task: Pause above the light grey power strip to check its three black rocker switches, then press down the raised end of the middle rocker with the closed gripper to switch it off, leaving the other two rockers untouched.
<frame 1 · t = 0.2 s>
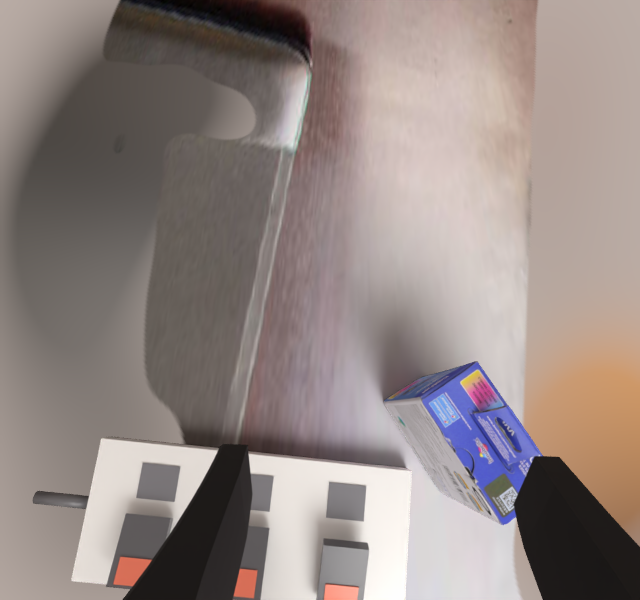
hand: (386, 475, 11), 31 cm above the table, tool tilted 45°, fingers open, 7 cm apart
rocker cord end: (141, 550, 35), point 4 cm above the table, hinge at 15.0°
power strip: (251, 517, 39), on the table
ink cartridge box: (434, 431, 42), on the table
rocker middle: (242, 561, 35), point 4 cm above the table, hinge at 15.0°
rocker far end: (342, 575, 35), point 4 cm above the table, hinge at -15.0°
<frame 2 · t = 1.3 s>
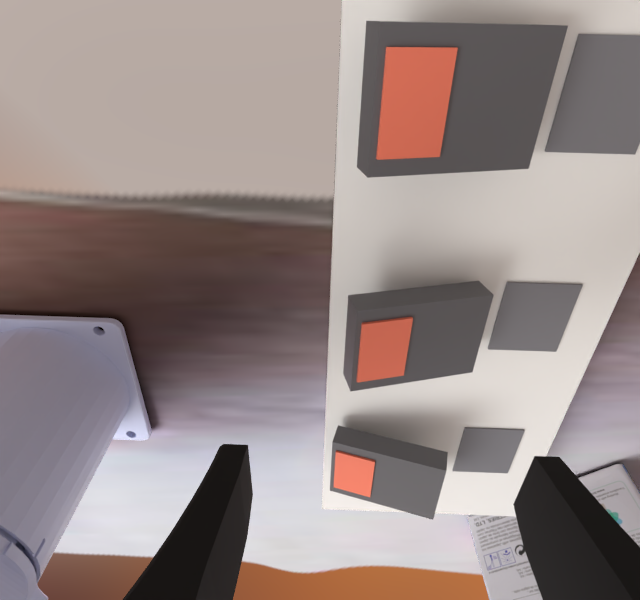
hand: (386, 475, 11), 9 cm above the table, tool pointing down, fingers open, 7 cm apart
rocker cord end: (455, 101, 12), point 4 cm above the table, hinge at 15.0°
power strip: (457, 289, 19), on the table
ink cartridge box: (551, 507, 28), on the table
rocker middle: (415, 337, 16), point 4 cm above the table, hinge at 15.0°
rocker far end: (385, 473, 21), point 4 cm above the table, hinge at -15.0°
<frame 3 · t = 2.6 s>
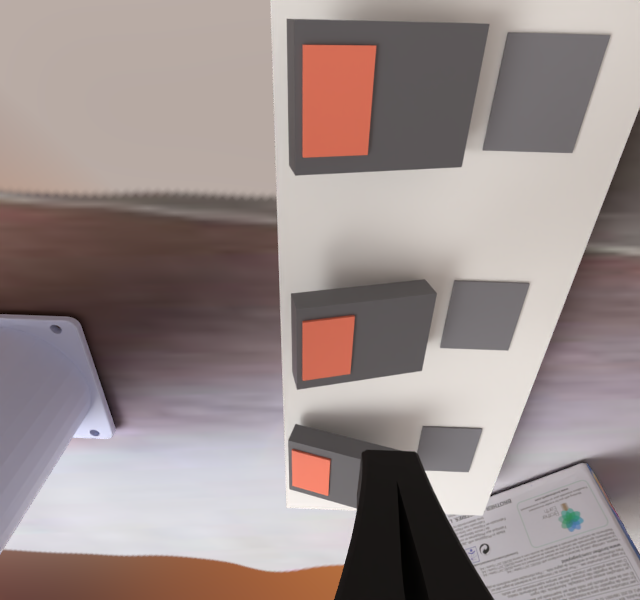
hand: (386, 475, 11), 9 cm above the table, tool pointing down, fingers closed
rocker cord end: (382, 99, 12), point 4 cm above the table, hinge at 15.0°
power strip: (411, 287, 19), on the table
ink cartridge box: (519, 506, 28), on the table
rocker middle: (361, 335, 16), point 4 cm above the table, hinge at 15.0°
rocker far end: (342, 471, 21), point 4 cm above the table, hinge at -15.0°
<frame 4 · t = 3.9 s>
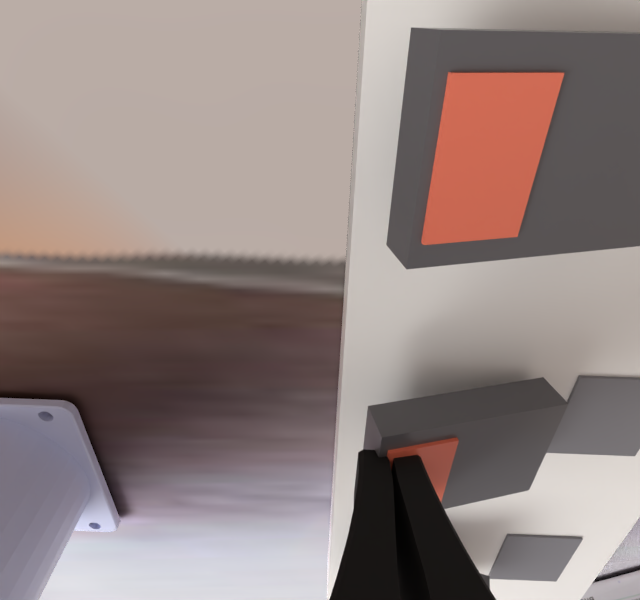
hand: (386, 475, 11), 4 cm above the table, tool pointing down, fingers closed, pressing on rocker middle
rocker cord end: (543, 152, 8), point 4 cm above the table, hinge at 15.0°
power strip: (502, 369, 15), on the table
ink cartridge box: (596, 597, 24), on the table
rocker middle: (456, 453, 12), point 4 cm above the table, hinge at 15.0°, touching gripper
rocker far end: (407, 594, 16), point 4 cm above the table, hinge at -15.0°
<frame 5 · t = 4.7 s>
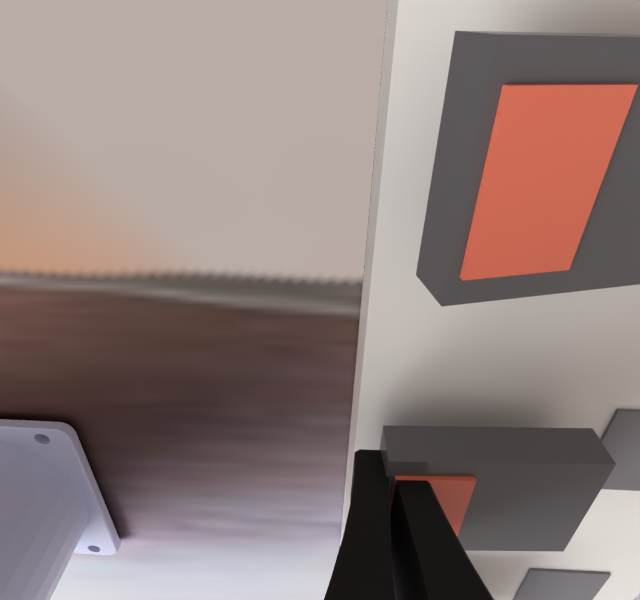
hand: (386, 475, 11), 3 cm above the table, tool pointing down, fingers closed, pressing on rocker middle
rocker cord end: (601, 174, 7), point 4 cm above the table, hinge at 15.0°
power strip: (528, 395, 14), on the table
rocker middle: (478, 493, 11), point 4 cm above the table, hinge at 2.4°, touching gripper
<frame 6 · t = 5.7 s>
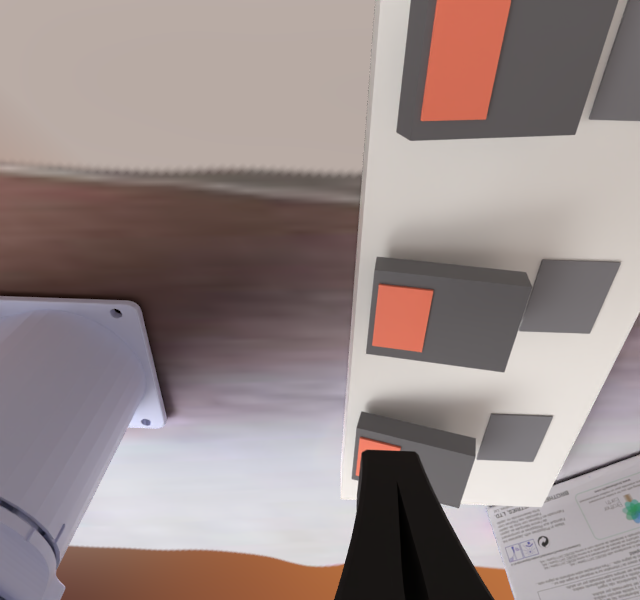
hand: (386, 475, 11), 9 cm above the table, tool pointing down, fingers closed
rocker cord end: (503, 61, 11), point 4 cm above the table, hinge at 15.0°
power strip: (486, 270, 19), on the table
ink cartridge box: (572, 499, 27), on the table
rocker middle: (441, 316, 16), point 4 cm above the table, hinge at -9.0°
rocker far end: (409, 460, 20), point 4 cm above the table, hinge at -15.0°
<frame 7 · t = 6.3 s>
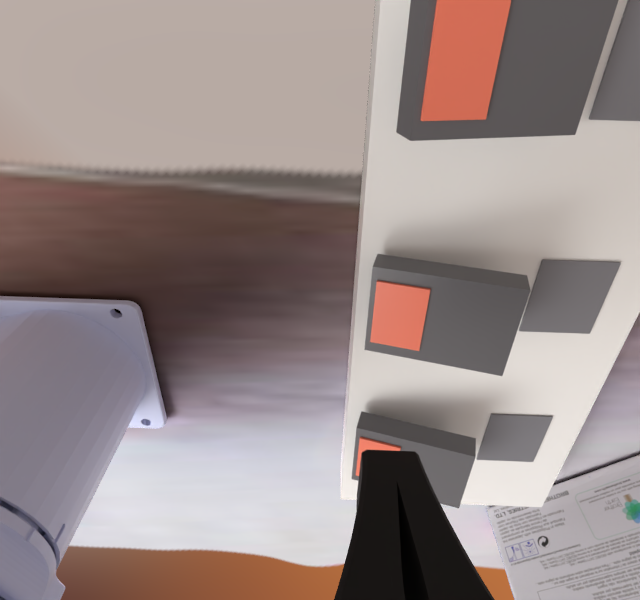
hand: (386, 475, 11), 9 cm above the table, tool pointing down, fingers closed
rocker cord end: (503, 61, 11), point 4 cm above the table, hinge at 15.0°
power strip: (486, 270, 19), on the table
ink cartridge box: (572, 499, 27), on the table
rocker middle: (439, 315, 16), point 4 cm above the table, hinge at -14.1°
rocker far end: (409, 460, 20), point 4 cm above the table, hinge at -15.0°
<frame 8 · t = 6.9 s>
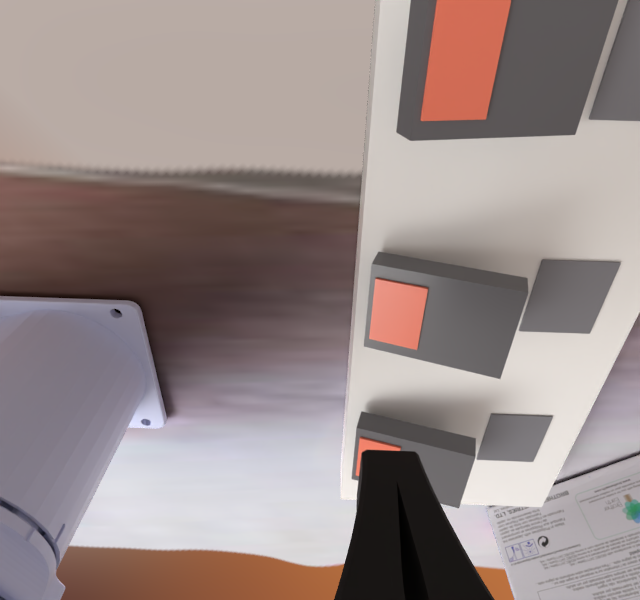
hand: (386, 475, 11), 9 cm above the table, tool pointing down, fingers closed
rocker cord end: (503, 61, 11), point 4 cm above the table, hinge at 15.0°
power strip: (486, 270, 19), on the table
ink cartridge box: (572, 499, 27), on the table
rocker middle: (438, 315, 16), point 4 cm above the table, hinge at -18.3°
rocker far end: (409, 460, 20), point 4 cm above the table, hinge at -15.0°
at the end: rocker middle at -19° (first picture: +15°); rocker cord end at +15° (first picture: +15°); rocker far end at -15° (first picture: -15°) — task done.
